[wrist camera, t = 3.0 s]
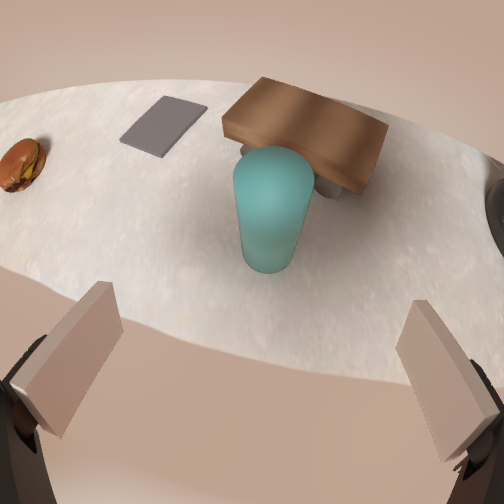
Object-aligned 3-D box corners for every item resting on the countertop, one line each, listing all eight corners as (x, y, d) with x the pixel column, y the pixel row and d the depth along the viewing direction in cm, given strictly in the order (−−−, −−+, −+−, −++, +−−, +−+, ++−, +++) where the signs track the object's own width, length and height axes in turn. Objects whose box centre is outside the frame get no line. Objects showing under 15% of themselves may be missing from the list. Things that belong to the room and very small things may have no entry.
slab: (373, 157, 33) (388, 125, 27) (352, 210, 30) (370, 178, 24) (261, 111, 36) (262, 76, 30) (226, 153, 33) (221, 117, 28)
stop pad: (207, 109, 36) (206, 106, 36) (161, 158, 33) (160, 155, 33) (164, 98, 38) (164, 95, 37) (120, 141, 35) (119, 139, 34)
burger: (18, 156, 36) (5, 141, 32) (53, 143, 36) (40, 125, 32) (0, 203, 33) (-16, 189, 28) (35, 193, 33) (18, 176, 28)
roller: (301, 239, 29) (326, 164, 18) (278, 282, 27) (293, 224, 16) (257, 218, 30) (257, 136, 19) (233, 258, 28) (217, 189, 17)
